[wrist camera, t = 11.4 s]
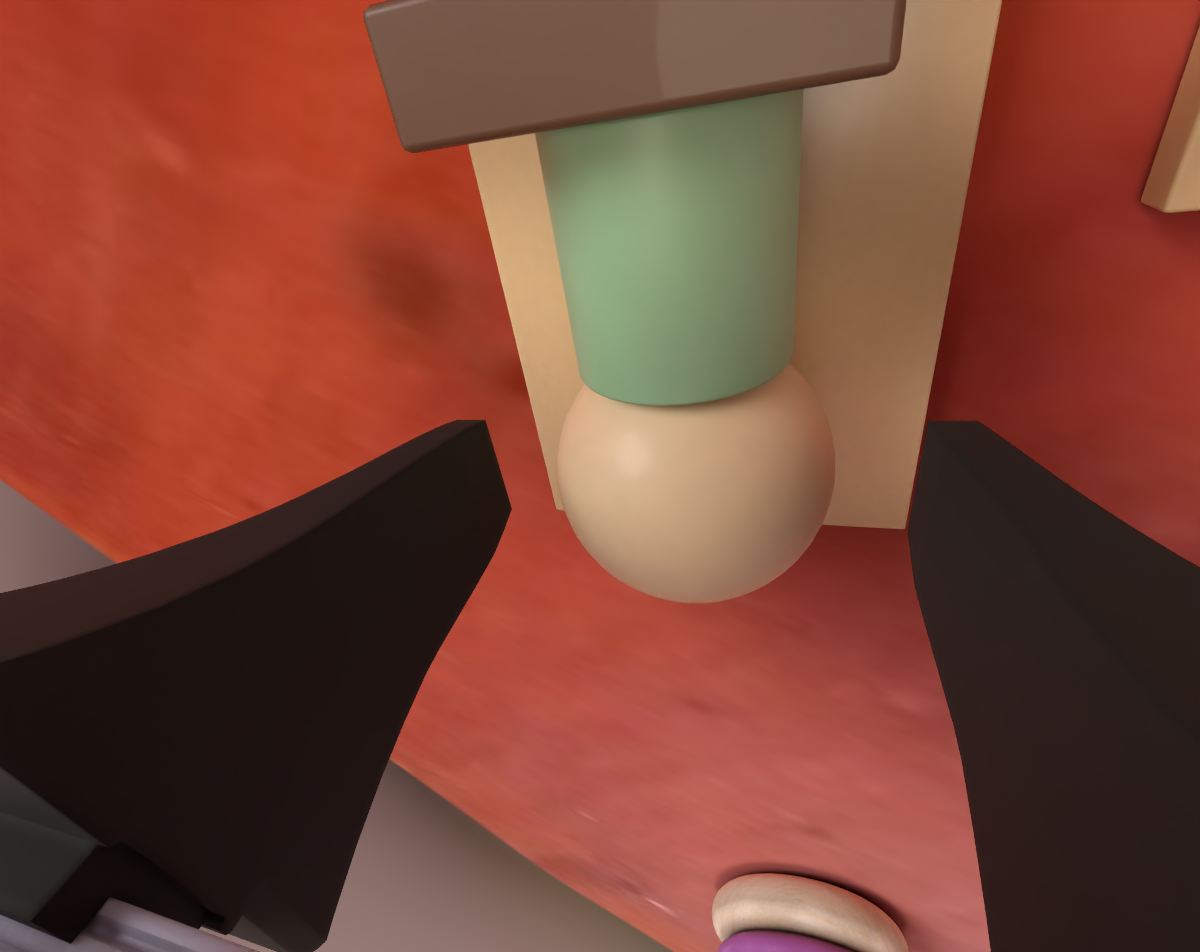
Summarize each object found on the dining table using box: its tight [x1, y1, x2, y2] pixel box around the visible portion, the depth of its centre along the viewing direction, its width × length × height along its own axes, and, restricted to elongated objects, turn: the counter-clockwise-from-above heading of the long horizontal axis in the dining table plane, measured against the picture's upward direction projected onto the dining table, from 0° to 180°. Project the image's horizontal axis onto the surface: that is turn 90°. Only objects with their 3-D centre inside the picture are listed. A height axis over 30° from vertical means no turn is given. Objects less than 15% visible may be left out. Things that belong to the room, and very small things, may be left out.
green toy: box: [363, 0, 907, 603], centre depth 9 cm, size 9×5×5 cm, turn 9°
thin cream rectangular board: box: [468, 0, 1002, 529], centre depth 9 cm, size 15×8×2 cm, turn 9°
